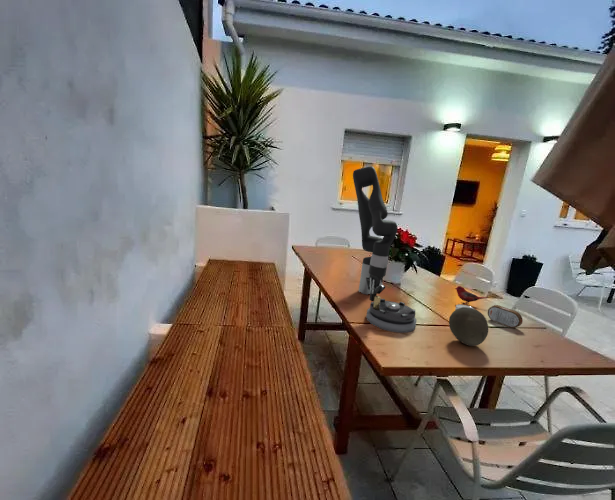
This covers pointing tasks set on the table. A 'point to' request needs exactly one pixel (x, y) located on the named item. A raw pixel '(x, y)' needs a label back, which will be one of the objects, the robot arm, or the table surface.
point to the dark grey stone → (468, 326)
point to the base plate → (390, 324)
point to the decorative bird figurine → (467, 295)
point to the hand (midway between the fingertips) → (372, 300)
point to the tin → (505, 316)
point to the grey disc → (391, 311)
